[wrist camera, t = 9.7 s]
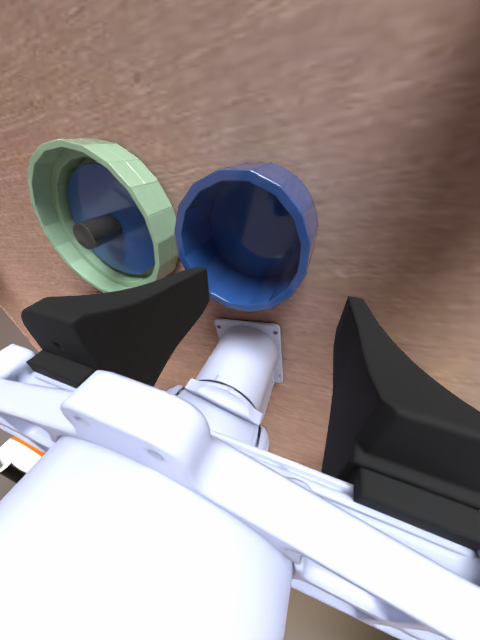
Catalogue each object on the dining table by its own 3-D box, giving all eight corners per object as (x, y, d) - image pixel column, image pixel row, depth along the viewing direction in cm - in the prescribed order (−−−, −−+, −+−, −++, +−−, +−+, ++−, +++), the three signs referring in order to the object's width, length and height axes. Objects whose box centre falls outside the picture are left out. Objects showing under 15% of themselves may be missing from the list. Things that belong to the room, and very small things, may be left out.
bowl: (196, 284, 27) (177, 302, 24) (106, 280, 32) (81, 295, 29) (152, 124, 19) (115, 122, 16) (41, 153, 24) (-2, 156, 21)
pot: (329, 268, 21) (324, 300, 17) (232, 289, 26) (211, 318, 22) (299, 135, 16) (282, 135, 12) (188, 192, 21) (150, 206, 17)
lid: (183, 257, 25) (155, 276, 21) (120, 278, 30) (90, 297, 27) (120, 138, 20) (71, 139, 16) (59, 189, 25) (12, 198, 22)
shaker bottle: (76, 379, 57) (-18, 463, 43) (86, 369, 52) (-19, 462, 37) (105, 401, 60) (25, 489, 45) (118, 395, 54) (31, 492, 39)
